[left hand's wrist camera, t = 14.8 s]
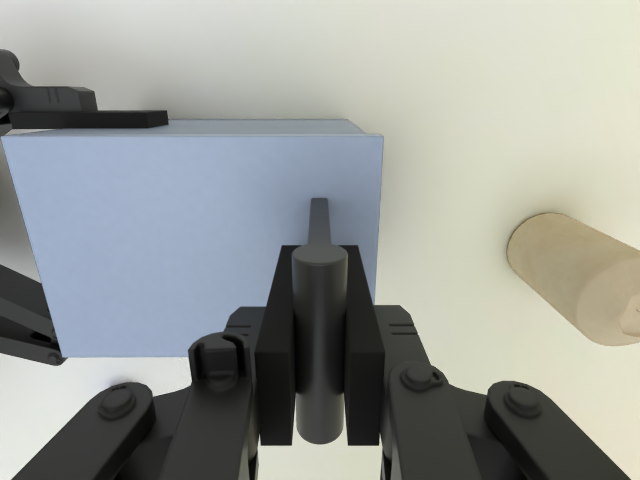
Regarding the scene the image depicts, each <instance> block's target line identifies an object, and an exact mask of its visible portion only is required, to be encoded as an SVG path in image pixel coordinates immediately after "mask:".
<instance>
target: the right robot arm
mask: <svg viewBox="0 0 640 480" xmlns="http://www.w3.org/2000/svg"><path fill="white" fill-rule="evenodd" d="M18 70H19V61H18V59H17V57H16V56H15V55H14V54H13V53H12V52H10V51H7V50H3V49H0V138H1V136H3V135H5V134H6V133H7V132H9V131H10V130H11V129H64V128H153V127H159V126H164V125H169V122H168V115H167V111H98V109H97V103H96V98H95V93H94V91H92V90H89V89H87V88H84V87H34V86H31V85H29V84H28V83H26V82H25V81H24V80H23V78H22V77H21V75H20V74H19V72H18ZM0 353H3V354H7V355H11V356H15V357H20V358H24V359H28V360H32V361H37V362H41V363H45V364H49V365H54V366H58V365H61V364H62V363H63V362H64V361H65V360H66V359H67V358H68V357H62V353H61V350H60V346H59V343H58V339H57V336H56V332H55V329H54V325H53V321H52V318H51V314H50V311H49V307H48V304H47V300H46V297H45V293H44V290H43V286H42V284H41V283H39V282H37V281H35V280H33V279H30V278H28V277H26V276H24V275H22V274H20V273H18V272H15V271H13V270H11V269H9V268H7V267H5V266H3V265H0Z"/></svg>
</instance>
